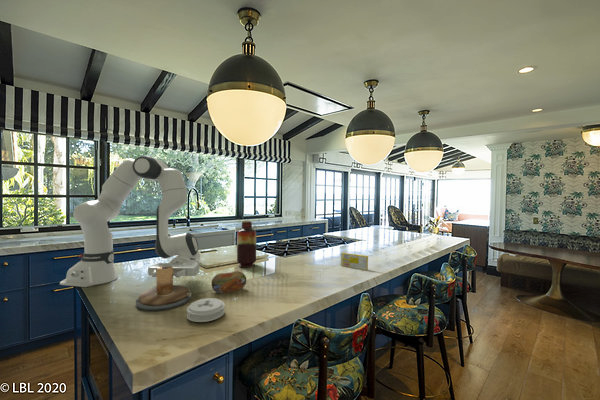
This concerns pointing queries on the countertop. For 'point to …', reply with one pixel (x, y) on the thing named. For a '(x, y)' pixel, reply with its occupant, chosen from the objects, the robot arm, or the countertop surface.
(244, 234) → the brown bottle
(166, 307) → the turntable base
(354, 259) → the candy box
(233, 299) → the countertop surface
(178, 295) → the turntable
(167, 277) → the canister
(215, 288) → the tin
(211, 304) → the lid
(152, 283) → the countertop surface
